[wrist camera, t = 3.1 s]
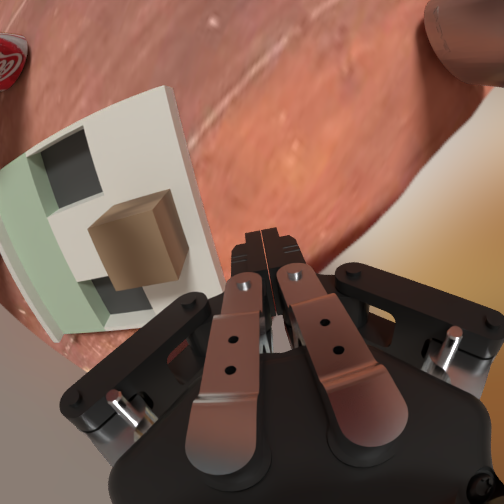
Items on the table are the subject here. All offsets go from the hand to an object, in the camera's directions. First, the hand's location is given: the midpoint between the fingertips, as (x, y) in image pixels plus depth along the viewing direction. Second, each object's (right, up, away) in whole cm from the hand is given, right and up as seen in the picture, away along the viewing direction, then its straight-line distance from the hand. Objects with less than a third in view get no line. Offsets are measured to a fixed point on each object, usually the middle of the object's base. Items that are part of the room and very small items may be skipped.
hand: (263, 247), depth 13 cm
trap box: (-15, +2, +10) cm, 18 cm away
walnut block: (-8, +2, +7) cm, 11 cm away
